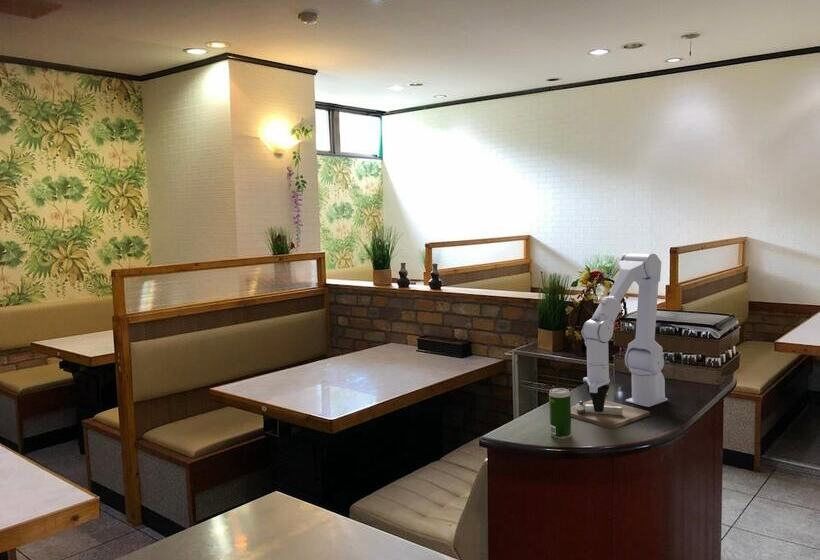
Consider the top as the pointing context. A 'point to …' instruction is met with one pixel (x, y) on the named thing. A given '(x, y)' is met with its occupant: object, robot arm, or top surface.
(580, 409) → the steel link
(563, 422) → the beer can
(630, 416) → the board
